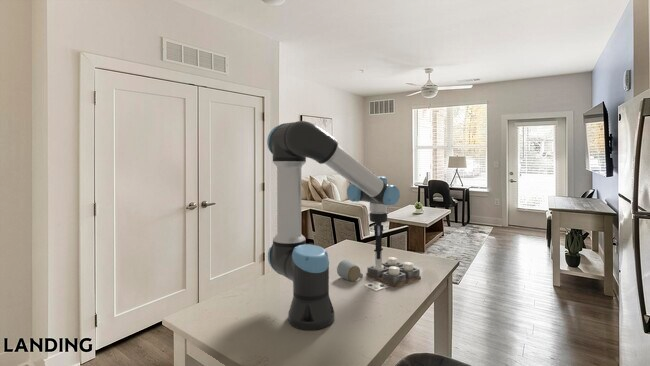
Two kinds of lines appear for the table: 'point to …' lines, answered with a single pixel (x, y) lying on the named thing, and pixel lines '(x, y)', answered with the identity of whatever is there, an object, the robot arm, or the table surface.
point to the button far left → (392, 261)
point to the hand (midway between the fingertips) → (378, 265)
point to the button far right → (408, 266)
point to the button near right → (394, 271)
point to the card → (376, 286)
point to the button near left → (378, 267)
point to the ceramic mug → (348, 271)
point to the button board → (390, 280)
